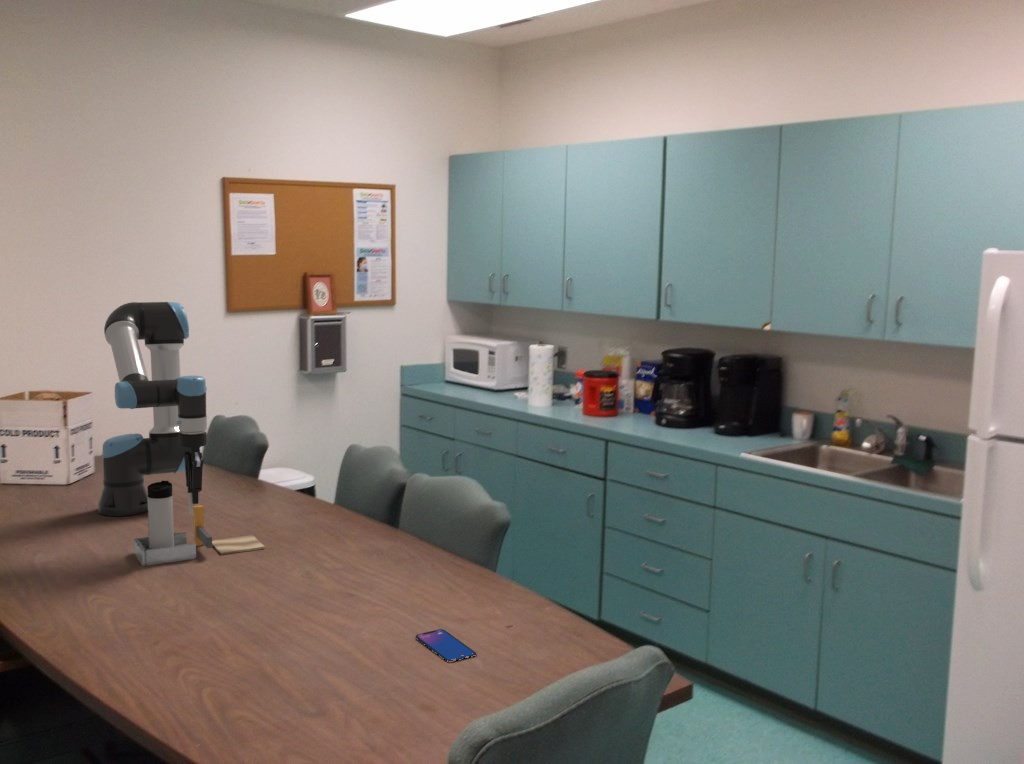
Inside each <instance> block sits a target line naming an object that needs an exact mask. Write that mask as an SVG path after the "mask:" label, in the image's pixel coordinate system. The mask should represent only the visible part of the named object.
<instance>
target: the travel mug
mask: <svg viewBox="0 0 1024 764" xmlns="http://www.w3.org/2000/svg"><path fill="white" fill-rule="evenodd" d="M146 489H147V494H148V511H147V519H148V520H147V521H148V522H147V523H148V524H147V526H148V527H147V528H148V537H149V549H155V548H162V547H169V546H174V534H175V531H174V499H173V498H174V495H173V484H172V482H170V481H169V480H161V481H158V482H152V483H151V484H149V485H148V486H147V488H146Z"/></svg>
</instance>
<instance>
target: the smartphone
mask: <svg viewBox="0 0 1024 764" xmlns="http://www.w3.org/2000/svg"><path fill="white" fill-rule="evenodd" d="M416 638H417V639H418V640H419V641H420V642H422V643H423V644H425V646H427V647H429V648H430V649H431V650H433V651H434V652H436V653H437V654H438V655H440V656H441V657H442V658H444V659H445V660H446V661H447V660H448V661H453V660H451V659H455V658H456V660H459V659H462V658H465V657H466V656H469V657H470V656H473V655H476V656H477V652H476V651H474V650H473V649H472V648H471V647H469V646H468V645H467V644H465V643H463V642H462V641H461V640H459V639H458V638H456V637H455V636H454V635H452V634H451V633H450V632H448V631H447V630H446V629H442V628H440V629H434V630H431V631H427V632H421V633H417V634H416V635H415V639H416ZM418 640H417V641H418ZM419 641H418V642H419ZM420 642H419V643H420ZM422 643H421V644H422ZM423 644H422V645H423ZM427 647H426V648H427ZM430 649H429V650H430ZM431 650H430V651H431ZM434 652H433V653H434ZM472 653H473V654H472ZM438 655H437V656H438ZM461 655H464V656H461ZM442 658H441V659H442ZM462 660H463V659H462ZM446 661H445V662H446Z"/></svg>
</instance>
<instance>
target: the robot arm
mask: <svg viewBox="0 0 1024 764" xmlns="http://www.w3.org/2000/svg"><path fill="white" fill-rule="evenodd" d="M188 319H189V318H188V315H187V312H186V309H185V307H184V306H183V305H182V304H181V303H180V302H174V301H173V302H169V301H154V302H153V301H151V302H149V301H148V302H146V301H144V302H137V301H135V302H134V301H131V302H127V303H124V304H122V305H120V306H118V307H117V308H115V309H114V310H113V311H112V312H111V313H110V314H109V316H108V317H107V319H106V321H105V324H104V328H103V331H104V332H103V333H104V338H105V340H106V342H107V343H108V344H109V345H110V346H111V350H112V355H113V359H114V363H115V368H116V371H117V376H118V380H119V382H116V383H115V385H114V401H115V405H116V407H117V408H118V409H120V410H121V409H122V410H124V409H130V410H134V409H145V408H147V409H148V408H152V411H153V412H152V413H153V416H152V417H153V427H152V428H151V429H150V430H149V431H148V437H146V438H145V437H144V436H143V435H142V434H141V433H126V434H120V435H117V436H116V435H115V436H112V437H110V438H108V439H106V440H105V441H104V442H103V443H102V450H101V451H102V453H101V459H102V476H103V477H102V479H103V480H102V481H103V488H102V492H101V494H100V498H99V500H98V505H97V507H98V508H97V511H98V513H99V514H100V515H102V516H103V515H104V516H109V517H123V516H124V517H125V516H133V515H134V516H135V515H138V514H143V513H145V512H148V490H147V488H146V487H145V479H144V477H145V476H152V475H165V474H172V473H173V474H177V473H182V472H185V485H186V488H187V494H188V514H189V516H194V511H193V506H200V505H201V494H200V492H202V490H203V467H204V466H203V465H204V459H203V453H202V452H201V449H200V448H201V447H205V446H207V445H208V433H207V432H206V431H207V429H208V421H207V419H208V418H207V417H208V415H207V385H206V379H205V377H203V376H201V375H183V376H181V365H180V364H181V362H180V361H181V360H180V350H181V348H183V346H184V345H185V340H186V339H188V338H189V337H190V326H189V320H188ZM140 340H144V346H145V348H147V349H148V350H149V352H150V366H151V367H150V370H151V380H149V378H148V374H147V373H148V372H147V370H146V366H145V363H144V358H143V354H142V352H141V348H140V344H139V341H140Z"/></svg>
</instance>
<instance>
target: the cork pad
mask: <svg viewBox="0 0 1024 764" xmlns="http://www.w3.org/2000/svg"><path fill="white" fill-rule="evenodd" d="M212 548H214V549H215V550H216V552H218V553H219V554H220V555H221V556H222V555H223V556H224V555H230V554H236V553H237V554H238V553H244V552H251V551H257V550H264V549H266V546H265V545H264V544H263V543H262V542H261V541H260V540H258V539H257V537H255V536H254V535H253V534H250V535H243V536H241V535H240V536H234V537H233V536H232V537H228V538H227V537H226V538H218V539H212Z"/></svg>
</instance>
